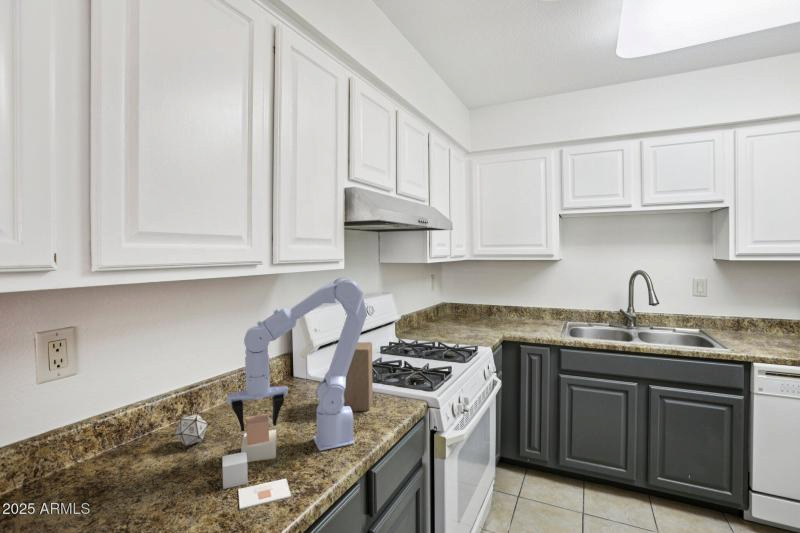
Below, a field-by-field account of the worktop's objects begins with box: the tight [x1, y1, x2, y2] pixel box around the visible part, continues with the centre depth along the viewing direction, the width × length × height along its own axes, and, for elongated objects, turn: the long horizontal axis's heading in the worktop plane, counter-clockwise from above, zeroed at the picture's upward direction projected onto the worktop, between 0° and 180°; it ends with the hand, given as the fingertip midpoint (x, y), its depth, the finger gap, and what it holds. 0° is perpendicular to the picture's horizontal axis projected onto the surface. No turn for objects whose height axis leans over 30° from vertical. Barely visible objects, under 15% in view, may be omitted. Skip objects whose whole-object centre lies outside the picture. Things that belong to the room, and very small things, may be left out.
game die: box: [171, 410, 212, 451], centre depth 108 cm, size 9×8×10 cm
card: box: [238, 478, 292, 510], centre depth 86 cm, size 10×7×1 cm
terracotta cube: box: [245, 413, 270, 445], centre depth 103 cm, size 5×5×5 cm
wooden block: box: [343, 341, 374, 412], centre depth 134 cm, size 10×10×20 cm
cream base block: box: [240, 429, 277, 463], centre depth 104 cm, size 8×8×4 cm
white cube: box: [222, 452, 249, 490], centre depth 91 cm, size 5×5×5 cm
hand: (258, 426), depth 104 cm, fingers open, 7 cm apart
